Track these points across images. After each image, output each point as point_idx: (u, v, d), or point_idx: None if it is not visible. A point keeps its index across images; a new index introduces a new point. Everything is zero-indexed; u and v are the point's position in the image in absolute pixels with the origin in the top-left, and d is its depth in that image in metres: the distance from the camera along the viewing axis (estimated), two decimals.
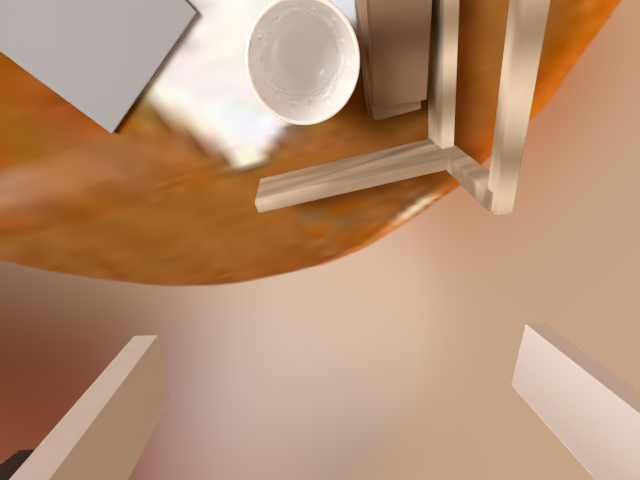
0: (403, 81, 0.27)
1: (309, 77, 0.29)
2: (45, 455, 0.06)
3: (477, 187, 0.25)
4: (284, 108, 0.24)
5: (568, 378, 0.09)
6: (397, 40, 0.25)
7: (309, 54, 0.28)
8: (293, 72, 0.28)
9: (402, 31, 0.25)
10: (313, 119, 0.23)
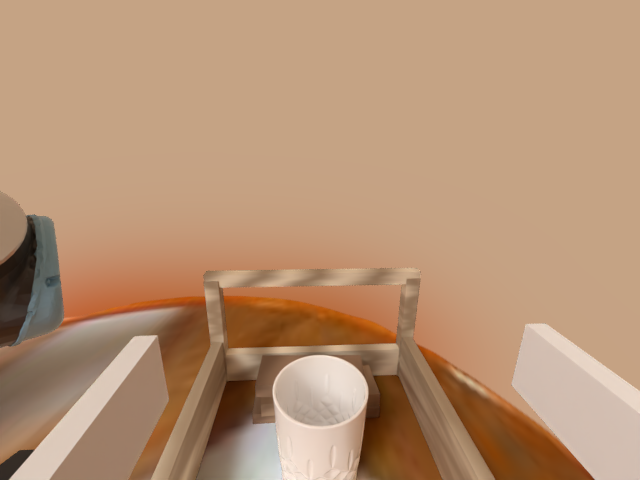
0: None
1: None
2: (45, 455, 0.06)
3: (409, 293, 0.36)
4: None
5: (568, 378, 0.09)
6: None
7: None
8: None
9: None
10: (364, 388, 0.25)
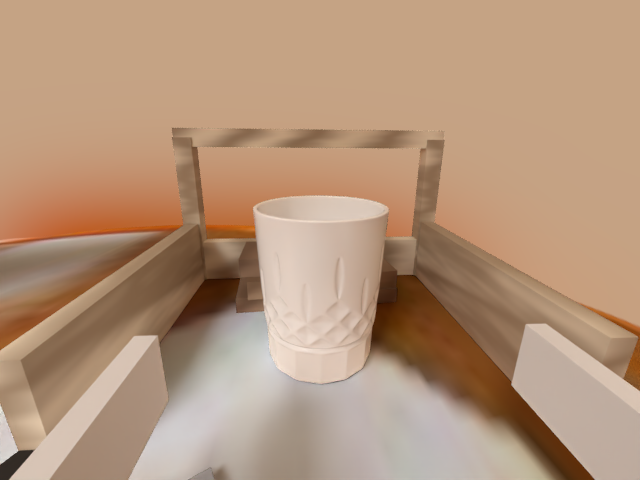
0: None
1: None
2: (45, 455, 0.06)
3: (429, 161, 0.29)
4: None
5: (568, 378, 0.09)
6: None
7: None
8: None
9: None
10: (382, 211, 0.18)
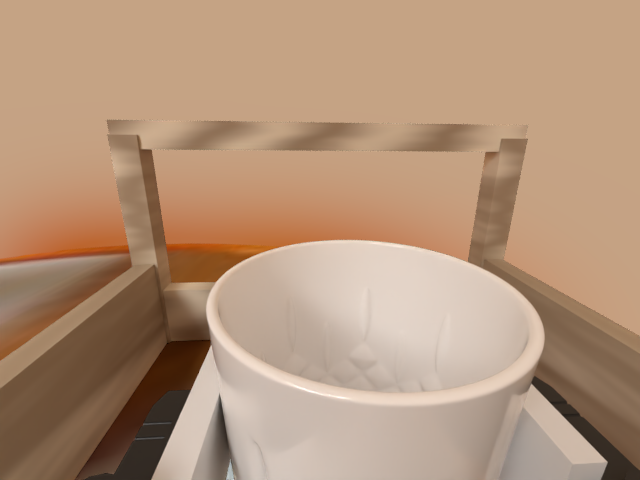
0: None
1: None
2: (204, 388, 0.08)
3: (503, 171, 0.19)
4: None
5: None
6: None
7: None
8: None
9: None
10: (498, 293, 0.08)
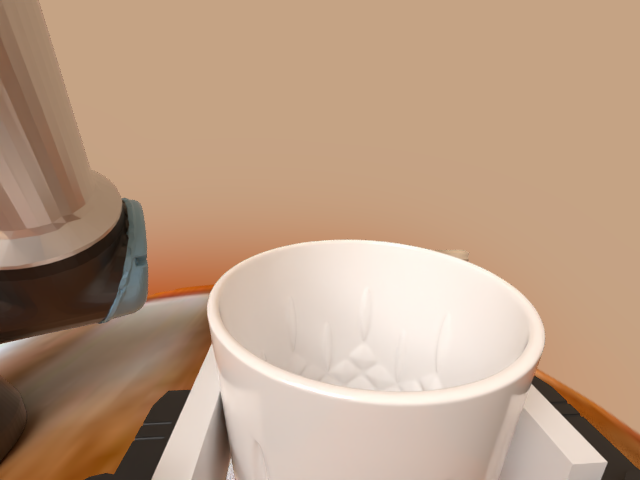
0: None
1: None
2: (204, 388, 0.08)
3: None
4: None
5: None
6: None
7: None
8: None
9: None
10: (498, 292, 0.08)
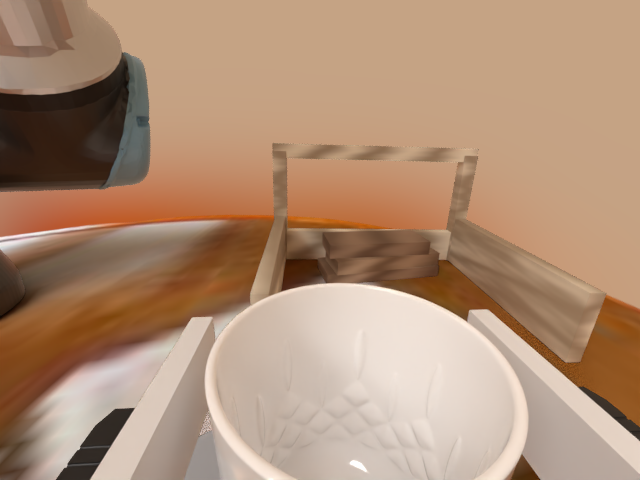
0: (406, 235, 0.38)
1: None
2: (147, 408, 0.07)
3: (465, 172, 0.38)
4: None
5: None
6: (383, 237, 0.36)
7: None
8: None
9: (378, 236, 0.37)
10: (488, 358, 0.08)
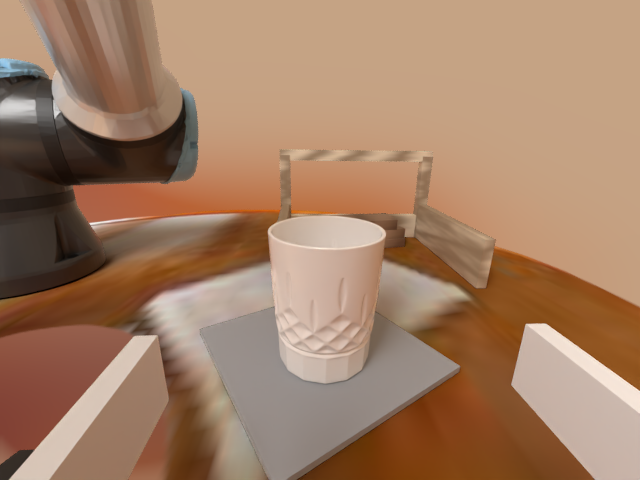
0: (380, 216, 0.50)
1: None
2: (45, 455, 0.06)
3: (424, 168, 0.51)
4: None
5: (568, 378, 0.09)
6: (363, 218, 0.49)
7: None
8: None
9: (359, 217, 0.49)
10: (380, 233, 0.21)
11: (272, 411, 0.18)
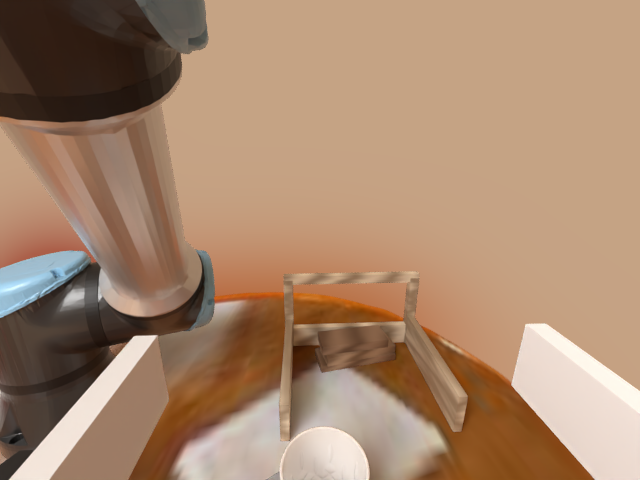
0: (373, 332, 0.56)
1: None
2: (45, 455, 0.06)
3: (412, 288, 0.57)
4: None
5: (568, 378, 0.09)
6: (358, 335, 0.55)
7: None
8: None
9: (354, 334, 0.55)
10: (365, 467, 0.27)
11: None
